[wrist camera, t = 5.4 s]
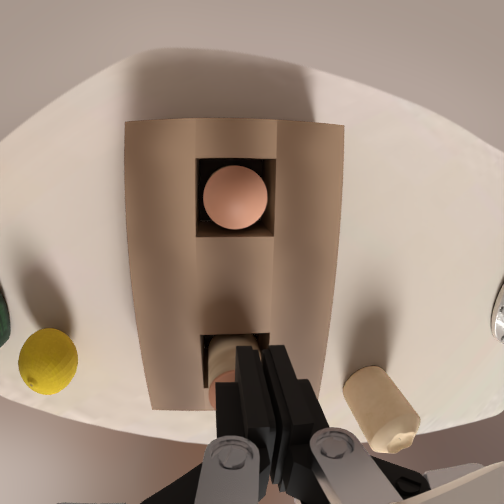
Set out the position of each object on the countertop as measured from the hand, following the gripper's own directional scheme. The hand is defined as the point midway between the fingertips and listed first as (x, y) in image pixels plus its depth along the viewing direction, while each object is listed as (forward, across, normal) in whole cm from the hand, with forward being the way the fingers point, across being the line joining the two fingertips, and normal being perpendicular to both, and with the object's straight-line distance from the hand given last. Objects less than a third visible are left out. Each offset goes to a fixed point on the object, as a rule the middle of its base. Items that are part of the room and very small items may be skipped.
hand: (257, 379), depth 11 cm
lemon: (+17, +17, +9) cm, 26 cm away
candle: (+17, -15, +16) cm, 28 cm away
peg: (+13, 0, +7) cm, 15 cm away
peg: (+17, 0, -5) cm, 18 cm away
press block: (+17, 0, +1) cm, 17 cm away
